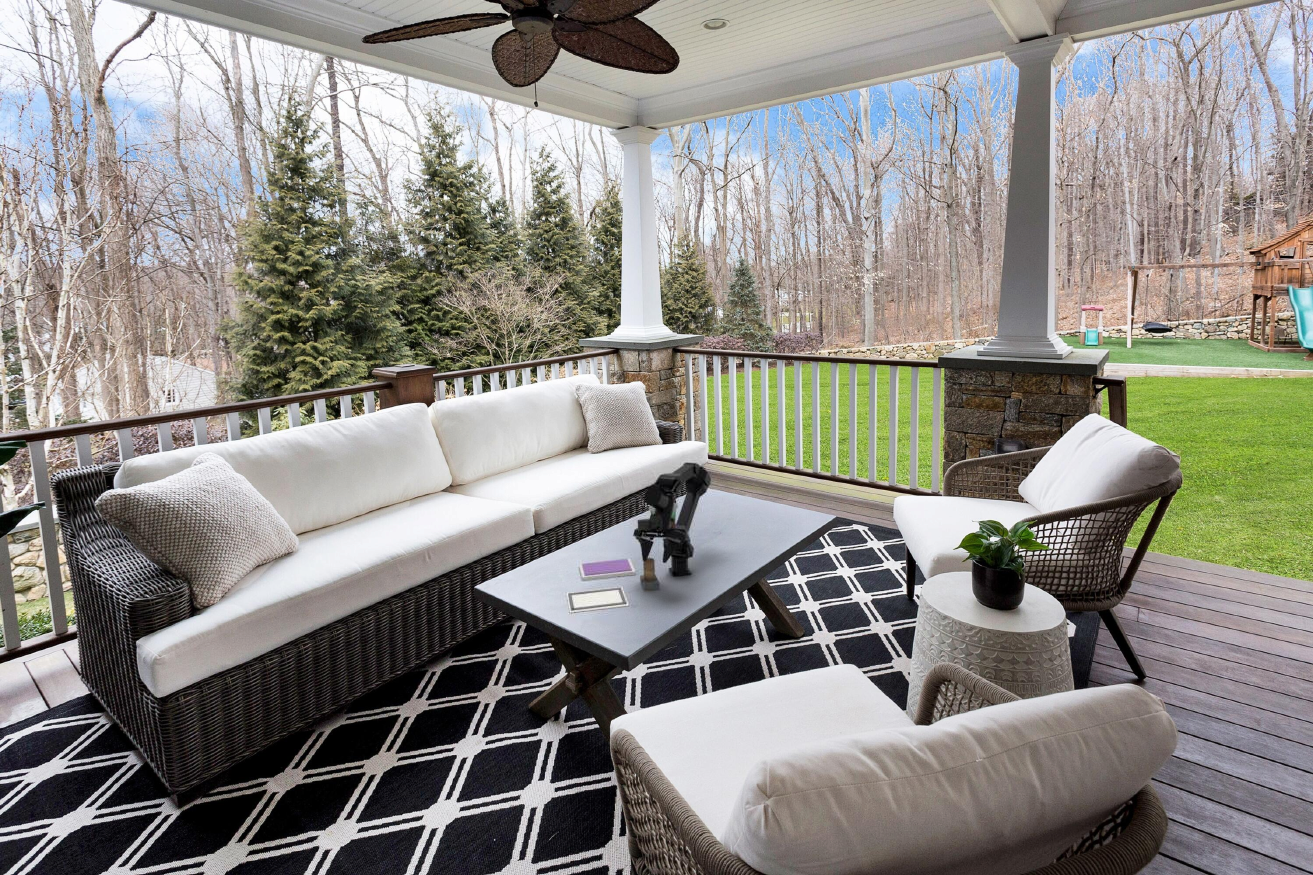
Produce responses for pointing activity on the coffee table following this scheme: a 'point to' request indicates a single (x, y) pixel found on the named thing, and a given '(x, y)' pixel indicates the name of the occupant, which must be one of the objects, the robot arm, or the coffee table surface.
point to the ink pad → (606, 569)
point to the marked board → (596, 599)
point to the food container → (672, 514)
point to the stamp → (649, 576)
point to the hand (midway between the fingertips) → (654, 561)
